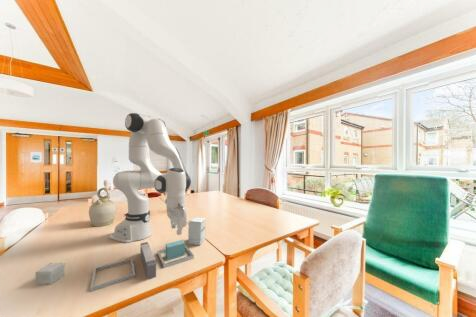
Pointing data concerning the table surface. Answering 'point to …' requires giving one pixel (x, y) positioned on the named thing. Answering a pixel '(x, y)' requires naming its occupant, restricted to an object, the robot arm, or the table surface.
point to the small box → (49, 273)
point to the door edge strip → (148, 260)
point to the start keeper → (175, 260)
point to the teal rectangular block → (175, 250)
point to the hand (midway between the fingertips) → (176, 231)
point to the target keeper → (94, 287)
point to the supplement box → (196, 231)
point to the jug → (102, 210)
